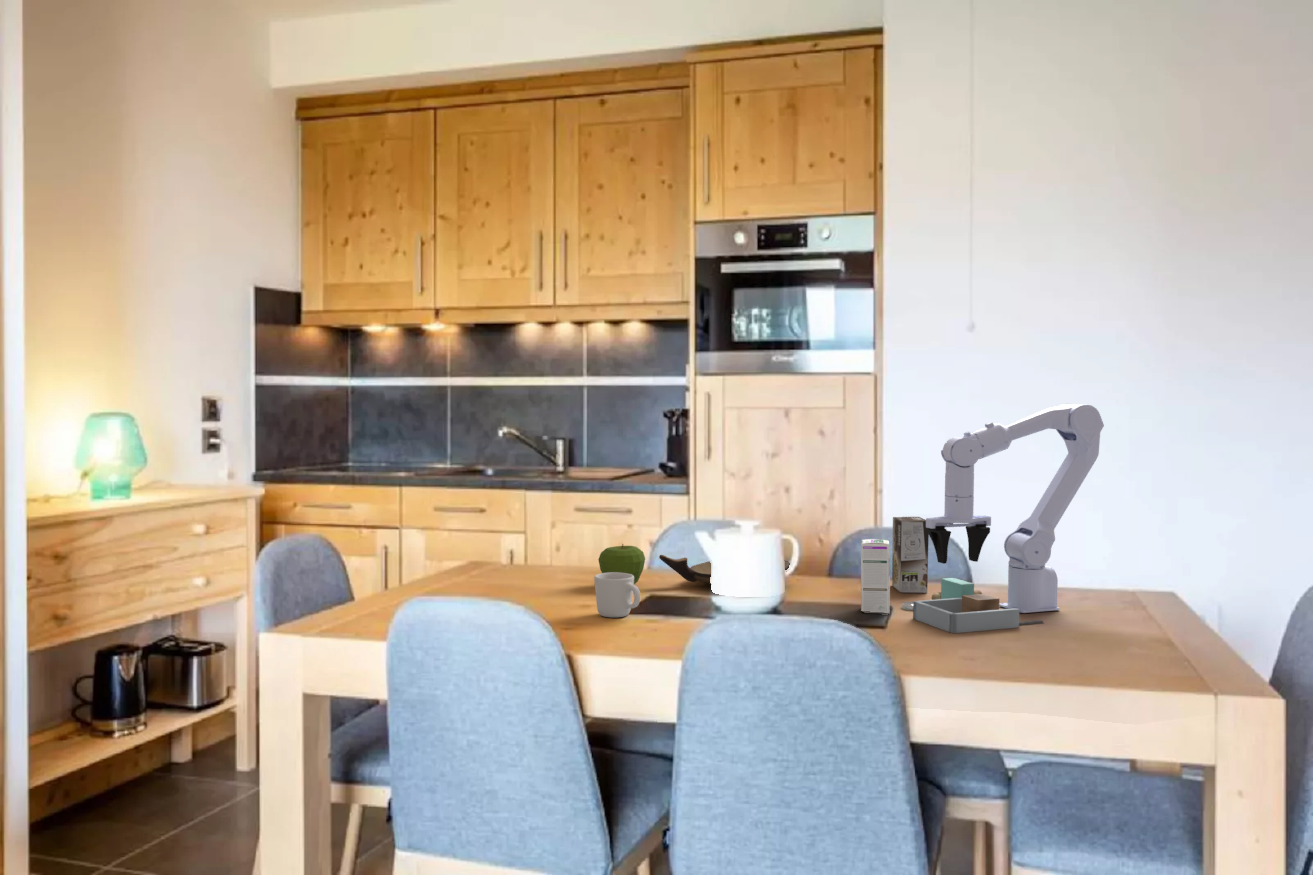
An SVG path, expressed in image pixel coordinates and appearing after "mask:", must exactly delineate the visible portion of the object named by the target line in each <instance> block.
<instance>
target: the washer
mask: <svg viewBox="0 0 1313 875" xmlns="http://www.w3.org/2000/svg"><path fill="white" fill-rule="evenodd" d="M901 609H902V610H905V611H910V612H913V601H905V602H902V603H901Z"/></svg>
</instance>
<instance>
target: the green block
mask: <svg viewBox="0 0 1313 875" xmlns="http://www.w3.org/2000/svg"><path fill="white" fill-rule="evenodd" d="M974 590H975V583H973V582H969V581H965V580H962V579H959V578H955V577H945V578H941V581H940V592H941V599H949V598H962V595H974Z"/></svg>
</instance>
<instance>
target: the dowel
mask: <svg viewBox="0 0 1313 875" xmlns="http://www.w3.org/2000/svg"><path fill="white" fill-rule="evenodd" d="M974 594H983V592H982V591H981V590H979V589H974ZM936 599H941V591H940V592H939V591H937V592H933V594H932V595H931V599H930V600H936Z"/></svg>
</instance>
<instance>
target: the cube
mask: <svg viewBox="0 0 1313 875" xmlns="http://www.w3.org/2000/svg"><path fill="white" fill-rule="evenodd" d="M999 603H1000V598H998V597H996V596H995V597H994V596H991V595H989V594H985V593H982V594H974V595H962V613H963V612H975V611H988V610H1000V606H999Z"/></svg>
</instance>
